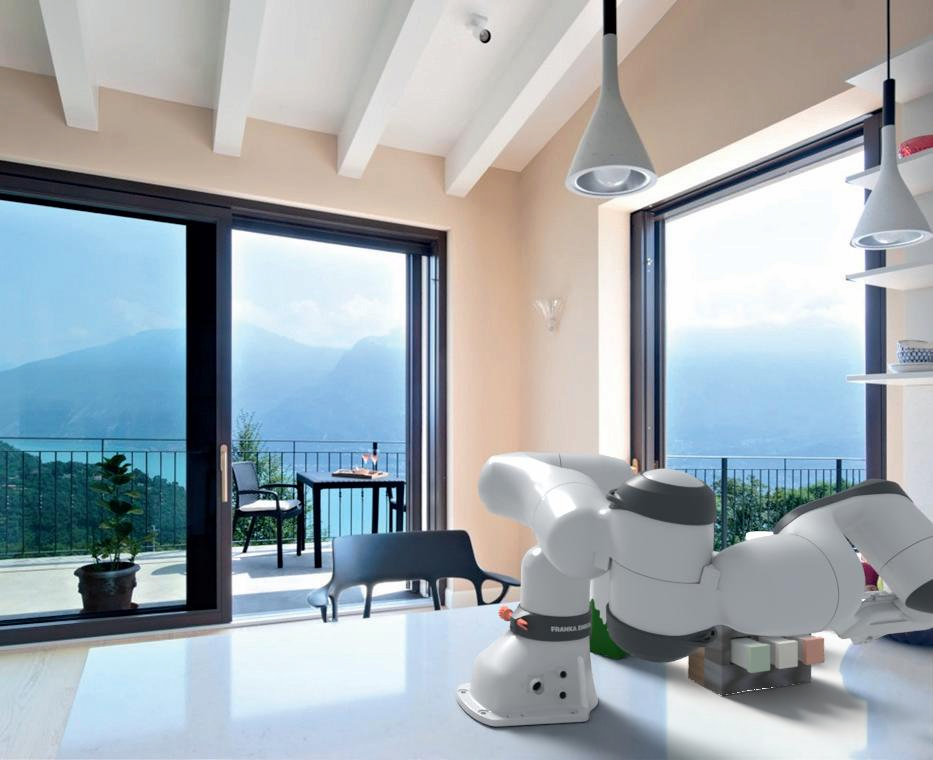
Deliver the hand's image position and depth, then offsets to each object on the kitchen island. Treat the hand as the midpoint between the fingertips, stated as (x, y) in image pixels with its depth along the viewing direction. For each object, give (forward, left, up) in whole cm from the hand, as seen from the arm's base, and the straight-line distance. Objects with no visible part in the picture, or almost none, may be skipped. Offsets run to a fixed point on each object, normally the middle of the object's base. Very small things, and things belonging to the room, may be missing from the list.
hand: (857, 640), depth 106 cm
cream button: (-6, +10, -6) cm, 13 cm away
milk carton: (-21, +36, -11) cm, 43 cm away
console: (-6, +16, -11) cm, 20 cm away
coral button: (0, +10, -6) cm, 12 cm away
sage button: (-12, +10, -6) cm, 17 cm away
